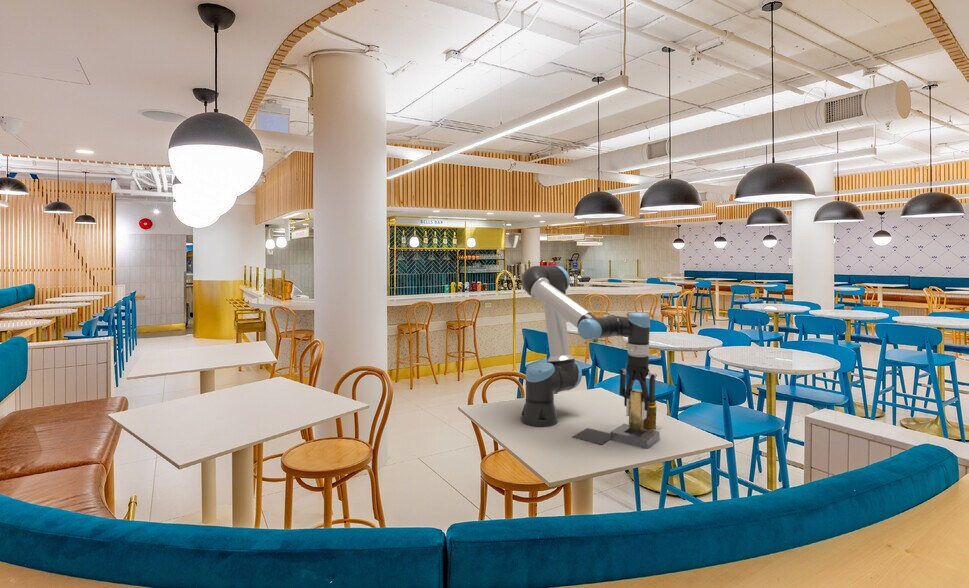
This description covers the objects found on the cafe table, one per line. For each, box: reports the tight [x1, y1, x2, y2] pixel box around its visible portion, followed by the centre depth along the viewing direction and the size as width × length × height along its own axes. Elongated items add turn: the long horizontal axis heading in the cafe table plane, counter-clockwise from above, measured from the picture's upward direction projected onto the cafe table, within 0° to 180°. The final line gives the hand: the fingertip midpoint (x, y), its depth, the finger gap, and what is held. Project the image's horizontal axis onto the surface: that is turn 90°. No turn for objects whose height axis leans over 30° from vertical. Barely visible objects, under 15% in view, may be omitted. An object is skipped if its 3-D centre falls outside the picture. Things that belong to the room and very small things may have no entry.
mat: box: [571, 427, 611, 446], centre depth 188 cm, size 12×12×1 cm
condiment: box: [643, 398, 661, 431], centre depth 198 cm, size 7×8×12 cm
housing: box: [609, 423, 661, 450], centre depth 185 cm, size 14×12×3 cm
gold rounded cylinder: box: [628, 388, 644, 431], centre depth 184 cm, size 5×5×14 cm
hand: (636, 416), depth 184 cm, fingers closed on gold rounded cylinder, 5 cm apart
